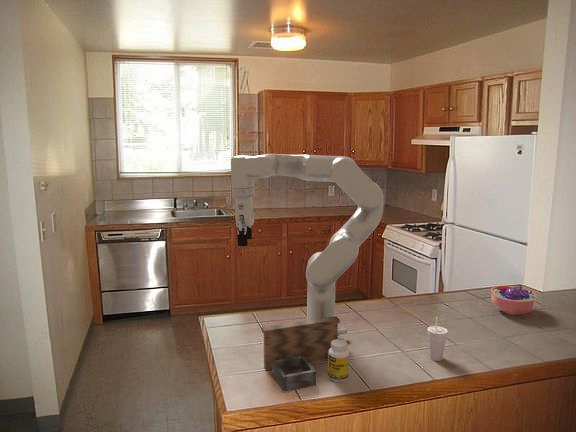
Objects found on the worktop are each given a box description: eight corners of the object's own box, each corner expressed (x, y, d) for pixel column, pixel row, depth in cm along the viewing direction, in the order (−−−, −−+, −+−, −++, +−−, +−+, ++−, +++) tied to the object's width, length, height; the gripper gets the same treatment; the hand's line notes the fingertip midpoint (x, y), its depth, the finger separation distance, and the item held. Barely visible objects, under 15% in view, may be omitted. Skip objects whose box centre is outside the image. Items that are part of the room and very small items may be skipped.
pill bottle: (325, 380, 137) (325, 345, 135) (331, 370, 143) (331, 336, 141) (345, 384, 135) (346, 348, 133) (350, 374, 140) (351, 340, 138)
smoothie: (422, 353, 153) (424, 313, 151) (441, 352, 154) (444, 312, 151) (430, 363, 147) (432, 321, 145) (449, 362, 148) (452, 320, 145)
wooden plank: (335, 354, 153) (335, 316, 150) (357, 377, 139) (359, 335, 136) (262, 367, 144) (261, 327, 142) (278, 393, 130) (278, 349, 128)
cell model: (537, 308, 193) (540, 282, 191) (532, 325, 176) (535, 296, 174) (493, 300, 202) (495, 275, 200) (485, 315, 185) (487, 288, 183)
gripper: (250, 196, 147) (252, 248, 150) (257, 189, 164) (259, 236, 167) (227, 196, 148) (229, 248, 151) (236, 189, 165) (238, 236, 168)
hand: (245, 242), depth 159 cm, fingers open, 9 cm apart
